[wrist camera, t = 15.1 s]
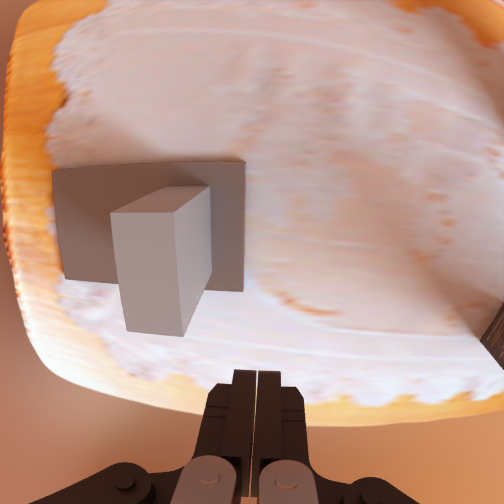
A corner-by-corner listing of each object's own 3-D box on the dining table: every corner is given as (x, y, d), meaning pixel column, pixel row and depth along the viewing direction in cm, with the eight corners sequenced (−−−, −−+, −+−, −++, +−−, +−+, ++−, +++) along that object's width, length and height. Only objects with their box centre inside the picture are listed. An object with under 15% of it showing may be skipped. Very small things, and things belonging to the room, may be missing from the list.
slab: (164, 186, 28) (107, 212, 18) (210, 186, 28) (173, 212, 17) (169, 269, 31) (124, 330, 20) (212, 271, 30) (183, 336, 20)
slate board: (245, 162, 28) (244, 162, 27) (243, 288, 32) (243, 291, 31) (55, 170, 29) (51, 171, 28) (68, 276, 33) (65, 279, 32)
